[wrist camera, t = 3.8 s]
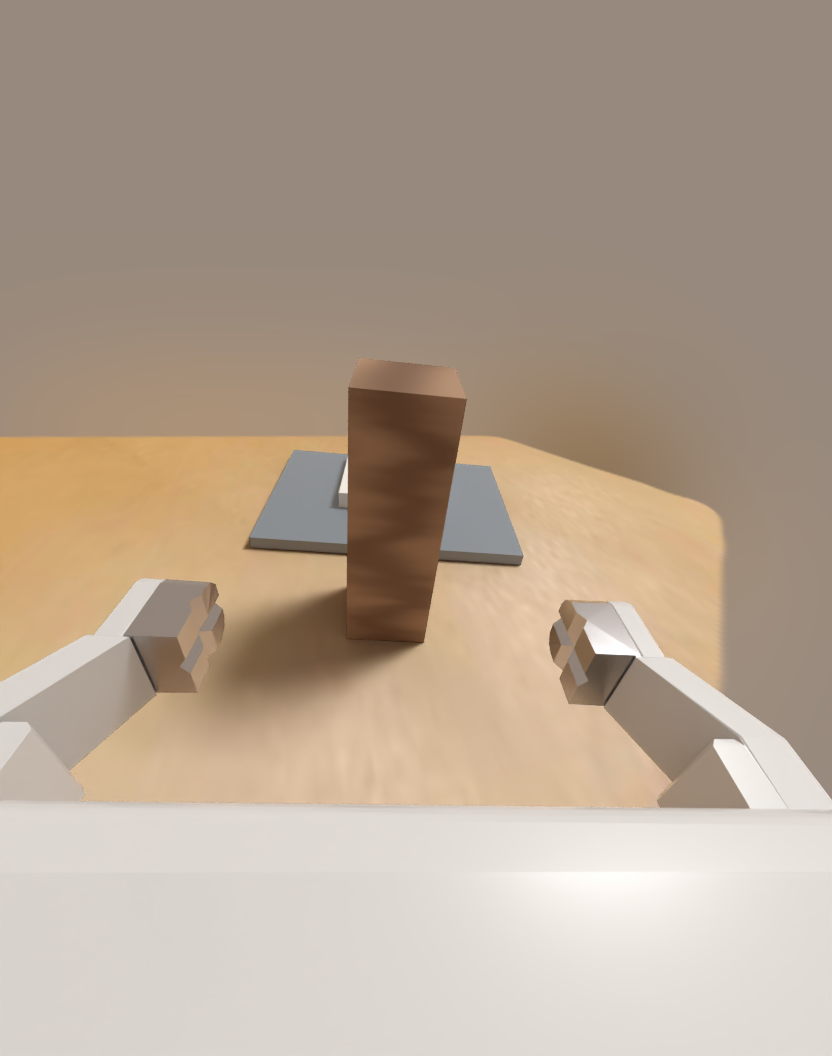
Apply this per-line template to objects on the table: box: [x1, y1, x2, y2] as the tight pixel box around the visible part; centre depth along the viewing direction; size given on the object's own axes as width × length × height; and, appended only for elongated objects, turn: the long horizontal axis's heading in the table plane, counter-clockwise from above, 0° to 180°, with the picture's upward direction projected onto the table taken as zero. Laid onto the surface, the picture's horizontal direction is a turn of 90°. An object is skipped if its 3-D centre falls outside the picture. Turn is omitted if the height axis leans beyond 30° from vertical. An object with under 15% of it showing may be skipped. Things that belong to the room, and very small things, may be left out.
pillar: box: [346, 358, 467, 642], centre depth 24 cm, size 5×5×16 cm
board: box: [249, 450, 523, 565], centre depth 40 cm, size 22×16×1 cm
